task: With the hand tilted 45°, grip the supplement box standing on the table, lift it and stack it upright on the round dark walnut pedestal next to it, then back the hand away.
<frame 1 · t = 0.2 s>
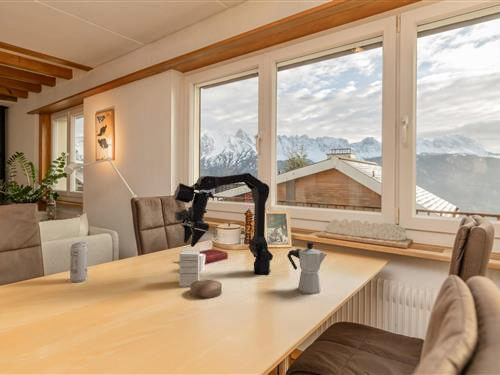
hand: (188, 244, 123), 15 cm above the table, tool tilted 15°, fingers open, 9 cm apart
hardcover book: (205, 261, 159), on the table
energy drink can: (78, 280, 125), on the table
coffee maker: (306, 290, 118), on the table
walnut pedestal: (206, 292, 113), on the table
supplement box: (189, 284, 123), on the table
shot glass: (197, 270, 141), on the table
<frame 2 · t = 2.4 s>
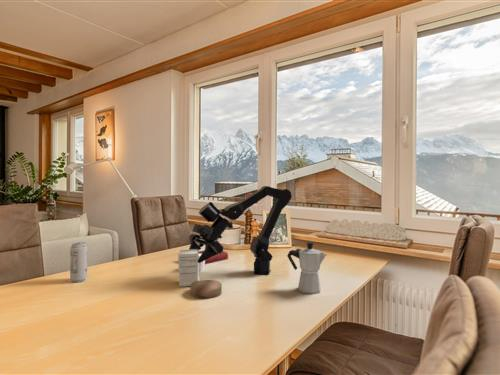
hand: (192, 259, 123), 9 cm above the table, tool tilted 45°, fingers open, 9 cm apart
supplement box: (189, 283, 123), on the table, touching gripper
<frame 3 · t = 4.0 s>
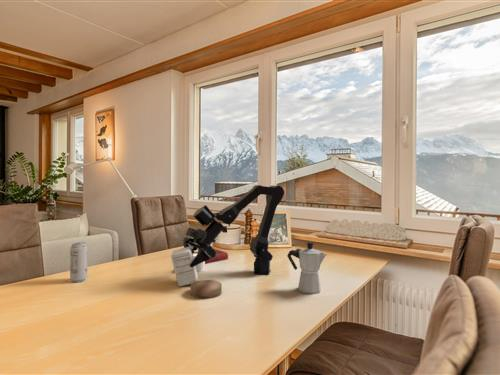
hand: (184, 263, 122), 8 cm above the table, tool tilted 45°, fingers closed on supplement box, 9 cm apart
supplement box: (188, 281, 123), point 1 cm above the table, touching gripper
everything else where it was.
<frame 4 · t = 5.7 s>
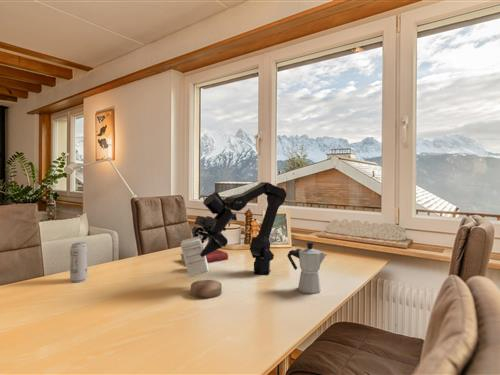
hand: (195, 253, 117), 13 cm above the table, tool tilted 45°, fingers closed on supplement box, 9 cm apart
supplement box: (199, 272, 117), point 6 cm above the table, touching gripper
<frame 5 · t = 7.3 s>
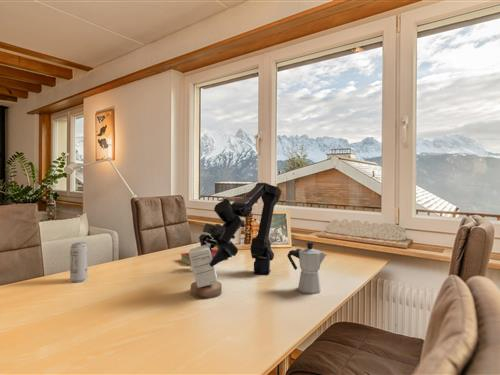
hand: (203, 263, 112), 11 cm above the table, tool tilted 45°, fingers closed on supplement box, 9 cm apart
supplement box: (207, 282, 113), point 4 cm above the table, touching gripper
when the fingers open (11 cm above the table, at t = 8.4 s): supplement box stays where it is, resting on walnut pedestal.
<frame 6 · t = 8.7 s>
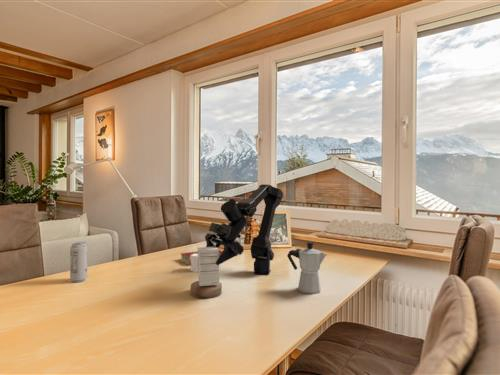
hand: (209, 261, 113), 11 cm above the table, tool tilted 45°, fingers open, 9 cm apart
supplement box: (208, 283, 113), point 3 cm above the table, touching gripper, walnut pedestal
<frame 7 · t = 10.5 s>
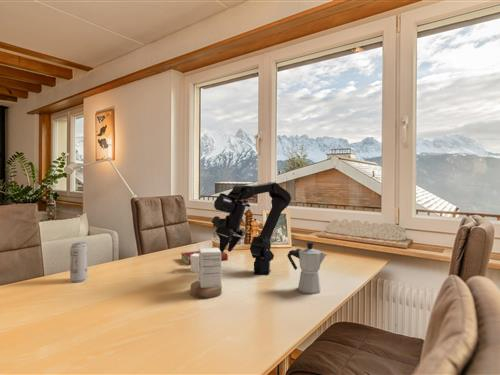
hand: (225, 252, 127), 12 cm above the table, tool tilted 15°, fingers open, 9 cm apart
supplement box: (209, 284, 113), point 3 cm above the table, touching walnut pedestal
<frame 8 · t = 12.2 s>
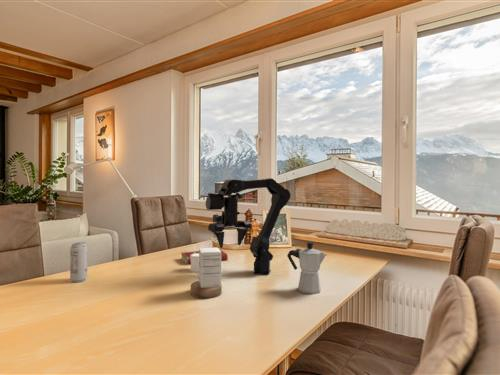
hand: (230, 246, 131), 13 cm above the table, tool pointing down, fingers open, 9 cm apart
at the end: supplement box 1.2 cm from the walnut pedestal (horizontally); supplement box point 2.8 cm above the table; supplement box tilted 0° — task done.
